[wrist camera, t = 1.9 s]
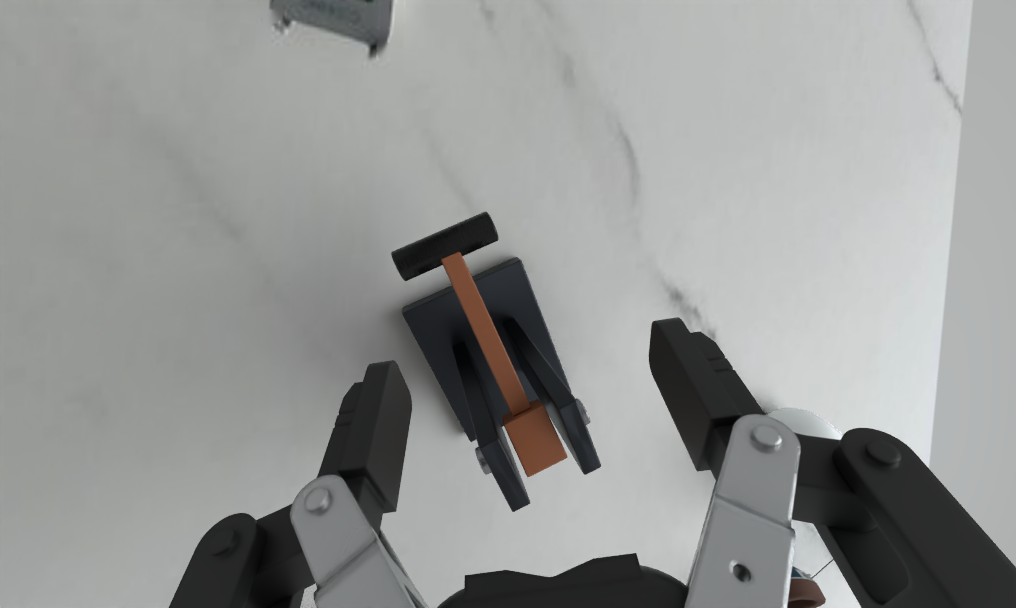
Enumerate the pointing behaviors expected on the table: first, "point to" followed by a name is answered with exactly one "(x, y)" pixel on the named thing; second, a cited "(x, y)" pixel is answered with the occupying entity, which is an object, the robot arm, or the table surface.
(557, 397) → the bracket
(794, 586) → the headphones
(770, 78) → the table surface
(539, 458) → the lever
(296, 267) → the table surface
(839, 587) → the table surface
